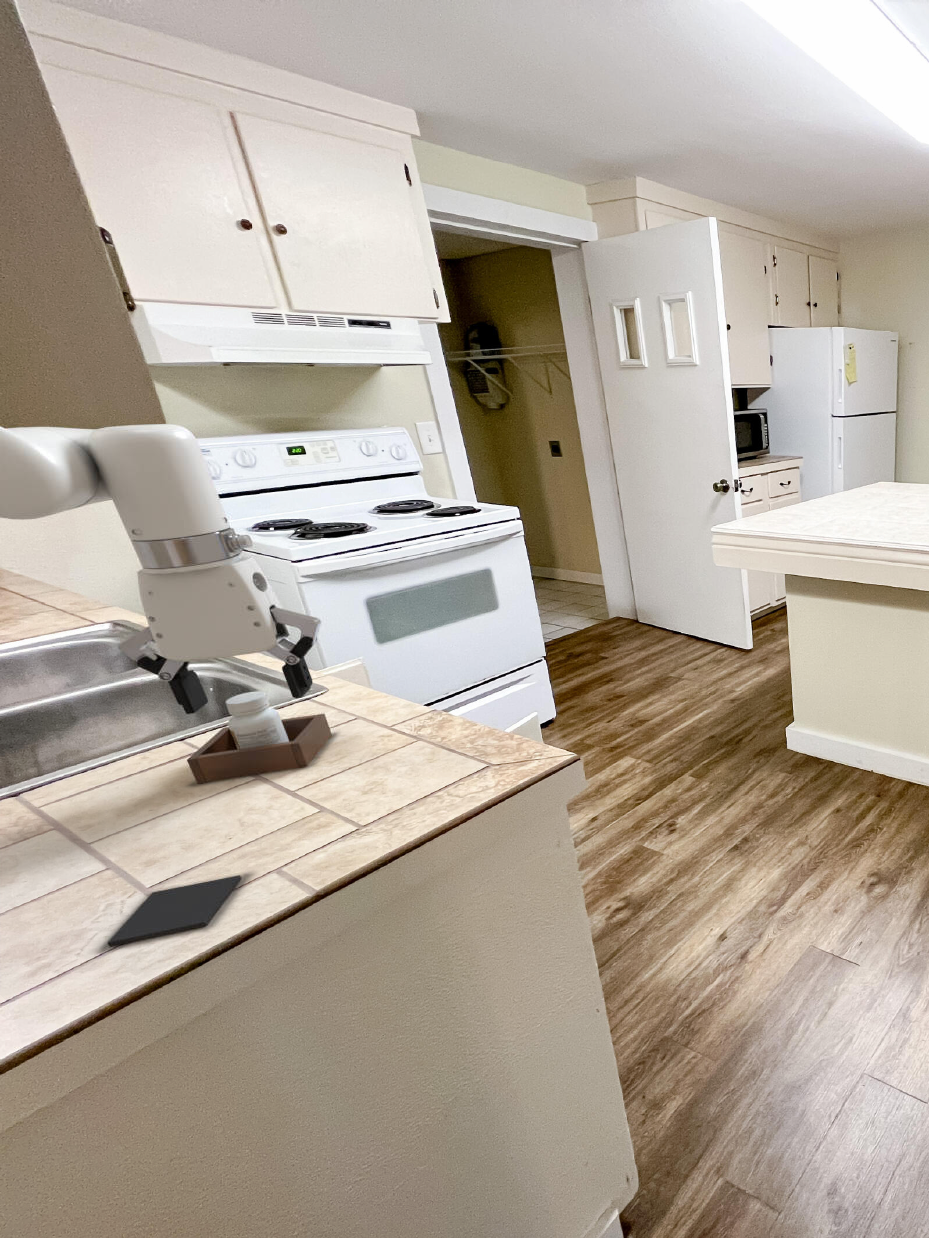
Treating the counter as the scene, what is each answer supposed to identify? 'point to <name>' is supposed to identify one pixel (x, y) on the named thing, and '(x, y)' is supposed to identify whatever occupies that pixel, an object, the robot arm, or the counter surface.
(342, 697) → the counter surface
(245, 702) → the pill bottle
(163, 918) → the coaster
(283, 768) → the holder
